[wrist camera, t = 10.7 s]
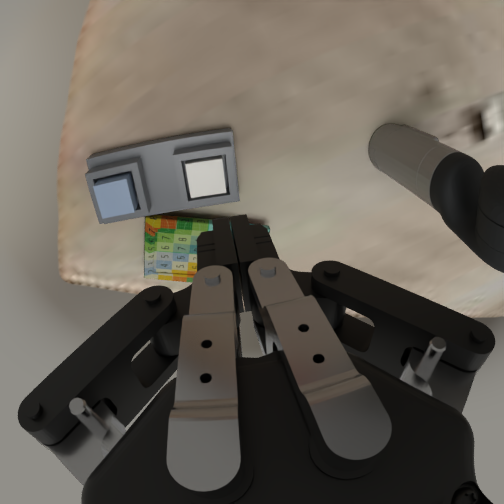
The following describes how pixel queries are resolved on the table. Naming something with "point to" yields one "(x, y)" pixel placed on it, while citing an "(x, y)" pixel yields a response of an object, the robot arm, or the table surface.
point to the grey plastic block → (165, 172)
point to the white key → (205, 176)
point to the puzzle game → (173, 246)
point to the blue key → (116, 195)
